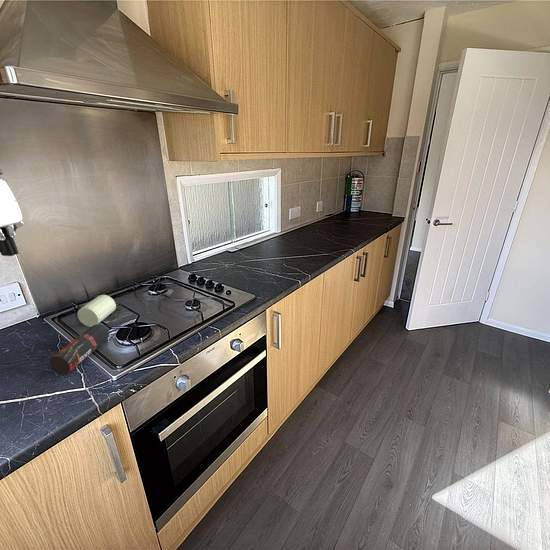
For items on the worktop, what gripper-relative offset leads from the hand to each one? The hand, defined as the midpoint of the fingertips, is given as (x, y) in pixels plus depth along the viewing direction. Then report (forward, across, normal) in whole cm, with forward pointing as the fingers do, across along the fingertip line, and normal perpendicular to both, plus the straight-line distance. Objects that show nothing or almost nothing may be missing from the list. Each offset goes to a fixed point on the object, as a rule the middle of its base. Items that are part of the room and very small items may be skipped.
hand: (10, 254), depth 72 cm
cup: (+28, -17, -2) cm, 33 cm away
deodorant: (+29, +5, +8) cm, 31 cm away
